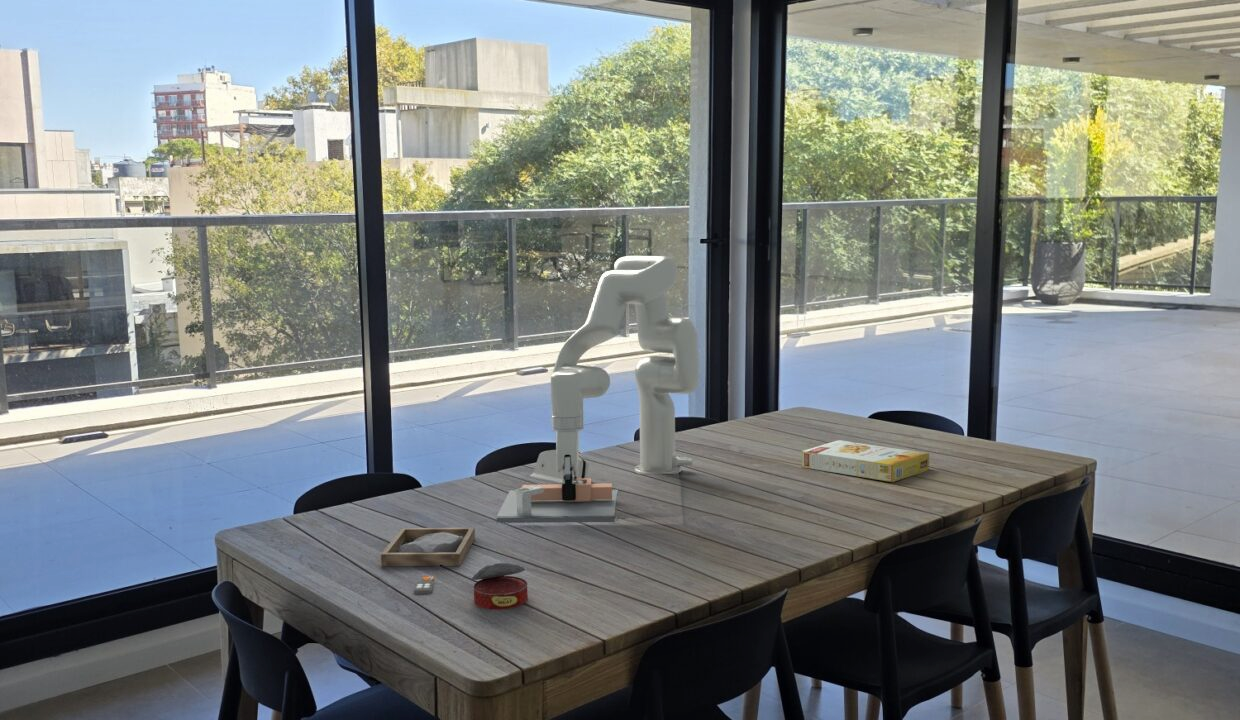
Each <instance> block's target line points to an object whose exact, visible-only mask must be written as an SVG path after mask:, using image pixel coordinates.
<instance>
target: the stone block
mask: <svg viewBox="0 0 1240 720" xmlns="http://www.w3.org/2000/svg"><path fill="white" fill-rule="evenodd" d="M462 541H463V537H462V536H457V535H453V534H451V533H444V532H441V533H434V534H428V535H425V536H423V537H420V538H418V539H416V540H414V541H410V542H409V543H405V544H403V545H401V546H400V549H399V553H436V552H456V551H457V549H458V547H459V546H460V544H461V542H462Z"/></svg>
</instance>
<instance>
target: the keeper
mask: <svg viewBox="0 0 1240 720" xmlns="http://www.w3.org/2000/svg"><path fill="white" fill-rule="evenodd" d="M534 485H535V486H530V487H525V488H522V487H520V488H516V489H515V490H516V497H517V514H519V515H522V516H521V517H525V516H524V515H529V514H531V495H535V494H540V493H544V492H543V487H540V486H537V485H538V484H534Z"/></svg>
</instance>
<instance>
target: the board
mask: <svg viewBox="0 0 1240 720" xmlns="http://www.w3.org/2000/svg"><path fill="white" fill-rule="evenodd" d="M618 490H619V489H612V499H602V500H591V501H583V502H582V503H575V502H574V501H570V502H566V501H563V500H547V501H531V514H529V515H524V516H522V515H519V514H517V497H516V489H515V490H509V491H508V494H507V496H506V497H505V499H504V501H503V503H502V505H501V507H500V509H499V511H498V513H497V514H496V523H497V522H501V524H502V522H504V523H505V524H513V523H514V524H517V523H518V524H520V523H521V524H522V523H523V524H524V523H525V522H527V524H529V523H532V524H533V523H534V524H535V523H536V524H537V523H614V522H615V519H616V517H615V513H616V505H617V499H618ZM506 522H507V523H506Z"/></svg>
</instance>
